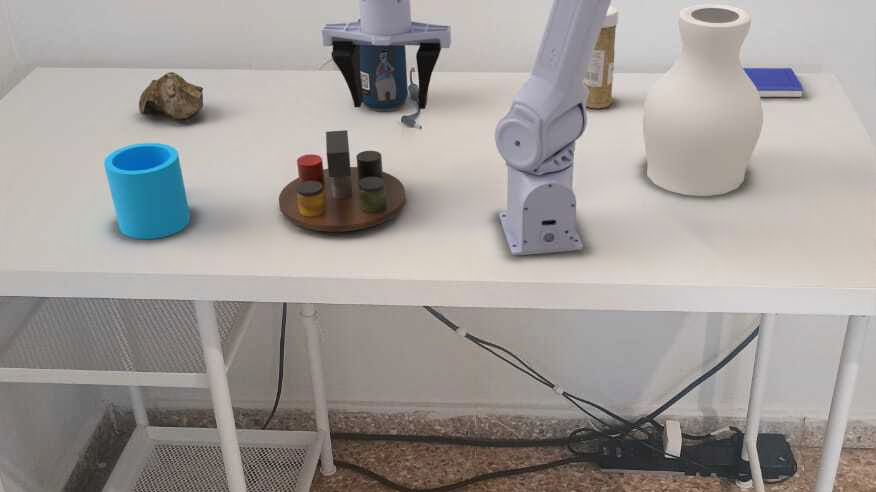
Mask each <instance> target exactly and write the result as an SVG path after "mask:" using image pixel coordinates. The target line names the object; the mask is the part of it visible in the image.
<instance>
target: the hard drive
mask: <svg viewBox="0 0 876 492" xmlns="http://www.w3.org/2000/svg"><path fill="white" fill-rule="evenodd" d="M743 69H744V71H745V73H746V74H747V75H748V77H749V78H750V79H751V81H752V82H753V84H754V85H755V87H756V88H757V90H758V93H759V95H760V98H762V97H763V98H764V97H765V98H767V97H768V98H771V97H772V98H773V97H774V98H782V97H783V98H784V97H785V98H792V97H794V98H799V97H800V98H801V97H802V95H803V89H804V88H803V86H802V83H801V82H800V81H799V78H798V77H797V75H796V73H795V72H794V70H793V68H791V67H780V68H779V67H743Z"/></svg>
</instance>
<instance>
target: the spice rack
mask: <svg viewBox="0 0 876 492" xmlns="http://www.w3.org/2000/svg"><path fill="white" fill-rule="evenodd" d="M348 134H349V133H348V130H347V129H346V130H345V129H344V130H329V131H325V147H326V148H325V149H326V161H327V162H326V163H327V168H324V164H323V163H324V162H323V158H322V156H321V155H318V154H304V155H301V156H299V157H298V158H296V159H297V160H296V165H297V172H298V173H297V174H298V177H296V178H295V179H293V180H291V181H290V182H289V183H287V184H286V185H285V187H283V188H282V190H281V191H280V193H279V196H278V206H279V207H278V208H279V211H280V213H281V214H282V216H283V217H284V218H285V219H286V220H287V221H289V222H290V223H291V224H294V225H296V226H298V227H302V228H304V229H308V230H313V231H319V232H334V233H335V232H336V233H337V232H350V231H356V230H357V231H358V230H363V229H367V228H371V227H375V226H377V225H380V224H382V223H385V222H386V221H389V220H391V218H394V217H395V216H396V215H398V213H400V211H402V209H403V208H404V206H405V204H406V201H407V200H406V199H407V197H406V188H405V186H404V184H403V183H402V182H401V180H400V179H398V178H397V177H396V176H394V175H392V174H391V173H388V172H385V171H383V159H382V154H381V152H379V151H376V150H363V151H361V152H358V153H357V154H356V155H355V156H356V166H351V155H350V145H349V135H348Z"/></svg>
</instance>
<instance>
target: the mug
mask: <svg viewBox="0 0 876 492" xmlns="http://www.w3.org/2000/svg"><path fill="white" fill-rule="evenodd" d="M103 166H104V170H105V174H106V179H107V183H108V187H109V190H110V194H111V199H112V202H113V207H114V211H115V216H116V219H117V220H116V221H117V224H118V227H119V230H120V231H121V233H122V234H123V235H125V236H127V237H129V238H132V239H137V240H155V239H162V238H165V237H168V236H172V235H174V234H176V233H178V232H180V231H182V230H183V229H185V228H186V227H187V226H188V225H189V223H190V222H191V213H190V208H189V202H188V198H187V193H186V188H185V183H184V178H183V173H182V166H181V162H180V157H179V151H178V150H177V149H176V148H175V147H174V146H171V145H169V144H166V143H161V142H160V143H159V142H143V143H135V144H131V145H130V144H129V145H127V146H124V147H120V148H119V149H116V150H114V151H112V152H111V153H109V154H107V156H106V158H105V159H104V164H103Z"/></svg>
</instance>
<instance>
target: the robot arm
mask: <svg viewBox="0 0 876 492" xmlns="http://www.w3.org/2000/svg"><path fill="white" fill-rule="evenodd" d="M611 2H612V0H553V2H552V6H551V8H550V11H549V15H548V19H547V21H546V25H545V28H544V31H543V34H542V38H541V40H540V45H539V48H538V51H537V54H536V57H535V60H534V64H533V67H532V70H531V74H530V75H529V76H528V78H527V80H526V81H525V83H524V84H523V85H522V87H521V88H520V89H519V90H518V91H517V93H516V95H515V96H514V97H513V99H512V102H511V105H510V108H509V110H508V112H507V113H506V114H505V115H504V116H503V117H502V118H500V120H499V121H498V123H497V124H496V127H495V130H494V142H495V146H496V149H497V151H498V153H499V155H500V157H501V158H502V159H503V160H504V161H505V166H506V167H507V203H506V204H507V207H506V208H507V209H506V211H501V212H499V214H498V215H499V217H498V218H499V220H500V223H501V226H502V230H503V232H504V235H505V238H506V242H507V244H508V248H509V250H510V253H511V255H513V256H525V255H538V254H539V255H540V254H551V253H564V252H576V251H581V250H583V247H584V246H583V243H582V241H581V238H580V236H579V234H578V231H577V229H576V219H577V198H576V194H575V192H574V190H573V181H574V160H575V158H574V157H575V151H576V141H577V140H579V139H580V138H581V137H582V136H583V134H584V133H585V132H586V131H585V130H586V128H587V124H588V113H587V107H586V102H587V99H588V96H589V93H590V91H589V90H588V88H587V87H586V86H585V85H584V84H583V80H584V77H585V74H586V71H587V68H588V65H589V63H590V60H591V57H592V54H593V51H594V48H595V45H596V43H597V40H598V37H599V34H600V31H601V28H602V25H603V23H604V20H605V17H606V14H607V11H608V8H609V6H611ZM358 9H359V19H360V21H359V22H358V21H349V22H341V23H325V24H324V25H323V26H322V28H321V38H322V46H323V47H332V51H331V58H332V61H333V62H334V64H335V65H336V67H337V68H338V69H339V71H340V73H341V74H342V77H343V78H344V81H345V82H346V85H347V88H348V90H349V92H350V95H351V98H352V102H353V106H354V108H361V106H362V104H363V89H362V81H361V73H360V45H405V46H418V49H417V51H416V54H415V58H416V66H417V77H418V98H417V99H418V100H417V101H418V109H419V110H425V109H426V108H427V105H428V94H429V88H430V82H431V78H432V76H433V75H432V74H433V71H434V69H435V67H436V64H437V62H438V59H439V57H440V54H441V50H442V49H450V47H451V45H452V44H451V43H452V26H451V25H442V24H434V23H433V24H432V23H425V22H419V21H412V13H411V12H412V11H411V0H358Z"/></svg>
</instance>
